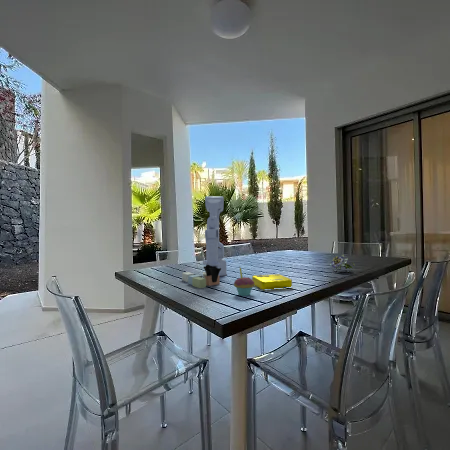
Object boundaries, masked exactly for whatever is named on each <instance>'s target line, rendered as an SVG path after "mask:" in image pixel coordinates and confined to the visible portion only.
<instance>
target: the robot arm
mask: <svg viewBox="0 0 450 450" xmlns="http://www.w3.org/2000/svg"><path fill="white" fill-rule="evenodd" d="M204 199H205V201H204V203H205V209H206V211H207V212H209V217H208V218H207V221H206V229H205V231H204V239H205V244H206V246H205V248H206V251H205V254H206V256H205V258H206V260H203V261H202V265H203V269H204V272H206V274H207V276H210V275H211V276H212V282H217V278H218V276H219V277H222V276H228V274H227V272H228V271H227V261H226V260H225V259H224V258H225V246H224V244H223V243H222V242H220V214H221V213H222V212H224V203H225V202H224V201H225V199H224V196H222V195H221V196H213V195H211V196H209V195H208V196H207V195H206V196H205V197H204Z"/></svg>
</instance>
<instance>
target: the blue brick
mask: <svg viewBox="0 0 450 450" xmlns="http://www.w3.org/2000/svg"><path fill="white" fill-rule="evenodd" d="M195 277H201V278H203V274H194V275H192V276H188V282H187V283H188V285H190V286H193V284H192V278H195Z"/></svg>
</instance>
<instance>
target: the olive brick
mask: <svg viewBox="0 0 450 450" xmlns="http://www.w3.org/2000/svg"><path fill="white" fill-rule="evenodd" d="M192 284H193V285H192V287H195V288H196V289H203V288H206V287H207V285H206V279H205V278H203V277H202V278H201V277H195V278H192Z"/></svg>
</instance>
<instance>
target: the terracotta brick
mask: <svg viewBox="0 0 450 450" xmlns="http://www.w3.org/2000/svg"><path fill="white" fill-rule="evenodd" d="M220 277H221V276H218V278H217V282H212V276H211V275H210V276H205V279H206V286H210V287H211V286H215V285H220V284H221V283H220V279H221V278H220Z"/></svg>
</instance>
